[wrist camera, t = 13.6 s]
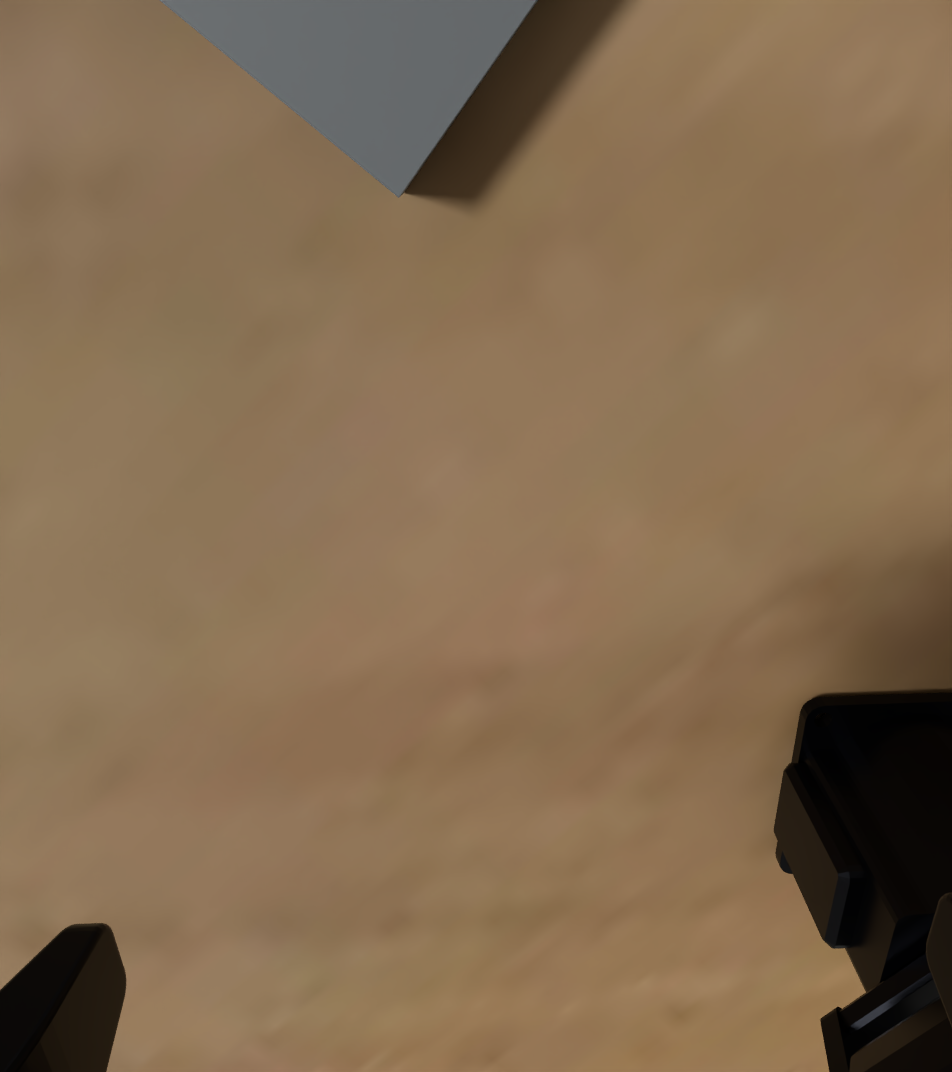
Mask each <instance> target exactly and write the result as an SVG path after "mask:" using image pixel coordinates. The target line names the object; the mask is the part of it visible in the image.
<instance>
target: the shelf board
mask: <svg viewBox="0 0 952 1072" xmlns="http://www.w3.org/2000/svg"><path fill="white" fill-rule="evenodd" d="M160 1H161V2H162V3H164V4H165V5H166V6H167V7H169V8H170V9H171V10H172V11H173V12H175V13H176V14H177V15H178V16H179V17H181V18H182V19H183V20H184V21H185V22H187V23H188V24H189V25H190V26H192V27H193V28H194V29H195V30H196V31H198V32H199V33H200V34H201V35H202V36H204V37H205V38H206V39H207V40H208V41H210V42H211V43H212V44H213V45H215V46H216V47H217V48H218V49H219V50H221V51H222V52H223V53H224V54H225V55H227V56H228V57H229V58H230V59H231V60H233V61H234V62H235V63H236V64H238V65H239V66H240V67H241V68H242V69H244V70H245V71H246V72H247V73H248V74H250V75H251V76H252V77H253V78H254V79H256V80H257V81H258V82H259V83H261V84H262V85H263V86H264V87H265V88H267V89H268V90H269V91H270V92H271V93H273V94H274V95H275V96H276V97H277V98H279V99H280V100H281V101H282V102H284V103H285V104H286V105H287V106H288V107H290V108H291V109H292V110H293V111H294V112H296V113H297V114H298V115H299V116H300V117H302V118H303V119H304V120H305V121H306V122H308V123H309V124H310V125H311V126H313V127H314V128H315V129H316V130H317V131H319V132H320V133H321V134H322V135H323V136H325V137H326V138H327V139H328V140H329V141H331V142H332V143H333V144H334V145H336V146H337V147H338V148H339V149H340V150H342V151H343V152H344V153H345V154H346V155H348V156H349V157H350V158H351V159H352V160H354V161H355V162H356V163H357V164H359V165H360V166H361V167H362V168H363V169H365V170H366V171H367V172H368V173H369V174H371V175H372V176H373V177H374V178H375V179H377V180H378V181H379V182H380V183H382V184H383V185H384V186H385V187H386V188H388V189H389V190H390V191H391V192H392V193H394V194H395V195H396V196H397V197H398V198H399V197H400V196H401V195H402V194H403V193H404V192H405V190H406V189H407V188H408V186H409V185H410V183H411V182H412V180H413V179H414V178H415V176H416V175H417V173H418V172H419V170H420V169H421V168H422V166H423V165H424V163H425V162H426V160H427V159H428V157H429V156H430V155H431V153H432V152H433V150H434V149H435V147H436V146H437V145H438V143H439V142H440V140H441V139H442V137H443V136H444V135H445V133H446V132H447V130H448V129H449V127H450V126H451V125H452V123H453V122H454V120H455V119H456V117H457V116H458V115H459V113H460V112H461V110H462V109H463V107H464V106H465V104H466V103H467V102H468V100H469V99H470V97H471V96H472V94H473V93H474V92H475V90H476V89H477V87H478V86H479V84H480V83H481V82H482V80H483V79H484V77H485V76H486V74H487V73H488V72H489V70H490V69H491V67H492V66H493V64H494V63H495V62H496V60H497V59H498V57H499V56H500V54H501V53H502V52H503V50H504V49H505V47H506V46H507V44H508V43H509V41H510V40H511V39H512V37H513V36H514V34H515V33H516V31H517V30H518V29H519V27H520V26H521V24H522V23H523V21H524V20H525V19H526V17H527V16H528V14H529V13H530V11H531V10H532V9H533V7H534V6H535V4H536V3H537V1H538V0H160Z"/></svg>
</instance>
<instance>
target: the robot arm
mask: <svg viewBox="0 0 952 1072" xmlns="http://www.w3.org/2000/svg"><path fill="white" fill-rule="evenodd" d="M821 713H825V715H824V716H822V717H821V718H817V719H816V716H818V715H819V714H821ZM774 833H775V836H776V838H777V840H778V842H777V848H776V858H777V861H778V863H779V865H780V867H781V869H782V870H783V871H784V872H786V873H789V874H793V875H794V878H795V880H796V882H797V884H798V886H799V889H800V891H801V893H802V895H803V897H804V900H805V902H806V904H807V906H808V908H809V911H810V913H811V915H812V917H813V919H814V922H815V924H816V926H817V928H818V930H819V933H820V935H821V937H822V939H823V940H824V941H825V942H826V943H827V944H828V945H829V946H830V947H831V948H845V949H846V951H847V953H848V955H849V957H850V960H851V962H852V964H853V966H854V968H855V970H856V972H857V974H858V976H859V978H860V981H861V983H862V985H863V987H864V989H865V991H866V993H865V994H863V995H862V996H860V997H859V998H857V999H856V1000H854V1001H853V1002H851V1003H850V1004H849V1005H847V1006H846V1007H844V1008H843V1009H842V1008H840V1007H837V1008H835V1009H834V1010H832V1011H831V1012H829V1013H828V1014H827V1015H825V1016H824V1017H822V1018H821V1027H822V1033H823V1038H824V1044H825V1049H826V1055H827V1061H828V1066H829V1072H952V693H926V694H896V695H866V696H836V697H818V698H813V699H811V700H809V701H807V702H806V703H805V704H804V705H803V707H802V709H801V711H800V716H799V722H798V728H797V734H796V739H795V745H794V751H793V756H792V762H791V763H789V765H788V766H787V767H786V769H785V770H784V772H783V778H782V784H781V790H780V796H779V802H778V807H777V813H776V819H775V825H774ZM125 991H126V974H125V969H124V966H123V963H122V960H121V957H120V953H119V950H118V947H117V944H116V941H115V938H114V934H113V932H112V930H111V928H110V927H109V926H108V925H107V924H104V923H92V924H74V925H71V926H68V927H67V928H65V929H64V930H62V931H61V932H60V933H59V934H58V935H57V936H56V937H55V938H54V939H53V940H52V941H51V942H50V943H49V944H48V945H46V946H45V947H44V948H43V949H42V950H41V951H40V952H39V953H38V954H37V955H36V956H35V957H34V958H33V959H32V960H31V961H30V962H29V963H28V964H27V965H26V966H25V967H24V968H23V969H21V970H20V971H19V972H18V973H17V974H16V975H15V976H14V977H13V978H12V979H11V980H10V981H9V982H8V983H7V984H6V985H5V986H4V987H3V988H2V989H1V990H0V1072H106V1071H107V1067H108V1063H109V1058H110V1054H111V1050H112V1046H113V1042H114V1038H115V1034H116V1030H117V1026H118V1022H119V1018H120V1014H121V1010H122V1006H123V1001H124V997H125Z"/></svg>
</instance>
